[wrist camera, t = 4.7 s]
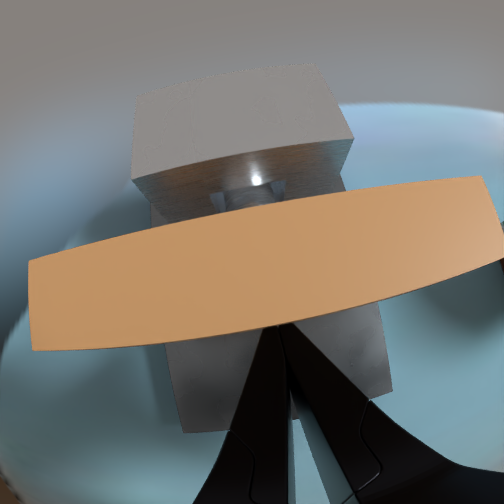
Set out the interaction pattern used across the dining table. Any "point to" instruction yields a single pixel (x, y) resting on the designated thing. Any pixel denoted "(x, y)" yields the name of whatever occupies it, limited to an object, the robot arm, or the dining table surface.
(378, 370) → the bearing base
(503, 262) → the food container
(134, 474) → the dining table surface
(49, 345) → the tan trapezoid block
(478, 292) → the dining table surface
